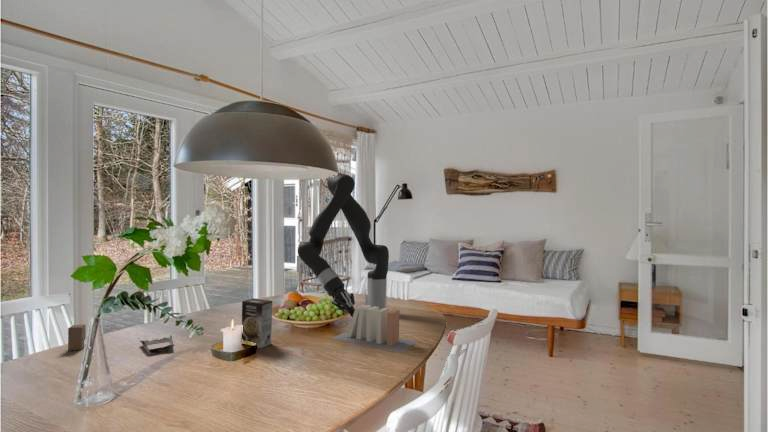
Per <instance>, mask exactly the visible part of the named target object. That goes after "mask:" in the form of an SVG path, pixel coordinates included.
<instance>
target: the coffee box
mask: <svg viewBox="0 0 768 432" xmlns="http://www.w3.org/2000/svg"><path fill="white" fill-rule="evenodd" d="M272 323H273V300H269V299H259V298H254V297H253V298H250V299H245V300H242V301H241V326H242V325H243V333H242V332H241V340H242V339H243V340H244V341H250V342H253V343H256V344H257V349H264V348H265V347H267V346H268V345H269V346H270V345H271V344H272V330H273V329H272V325H273V324H272Z"/></svg>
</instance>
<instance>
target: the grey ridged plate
mask: <svg viewBox="0 0 768 432" xmlns="http://www.w3.org/2000/svg"><path fill="white" fill-rule="evenodd" d="M347 333H348V330H347V331H345V332H343V333H340V334H338V335H335V336H333V337H332V339H333V340H338V341H344V342H348V343H354V344H358V345H363V346H368V347H372V348H377V349H380V350H381V349H382V350H387V351H391V352H395V353H396V352H397V353H403V352H405V351H406V350H407V349H409V348H410V347H412V346H414V345H415V344H417V343H418V342H419V341H417V340H413V339H412V340H411V339H406V338H401V337H399V342H397V343H396V344H394V345H392V346H388V345H387V341H385V342H383V343H382V344H378V343H376V339H375V340H373V341H371V342H368V341H366V337H365V338H363V339H361V340H359V339H356V335H355V336H353V337H351V338H350V337H348V336H347Z"/></svg>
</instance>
